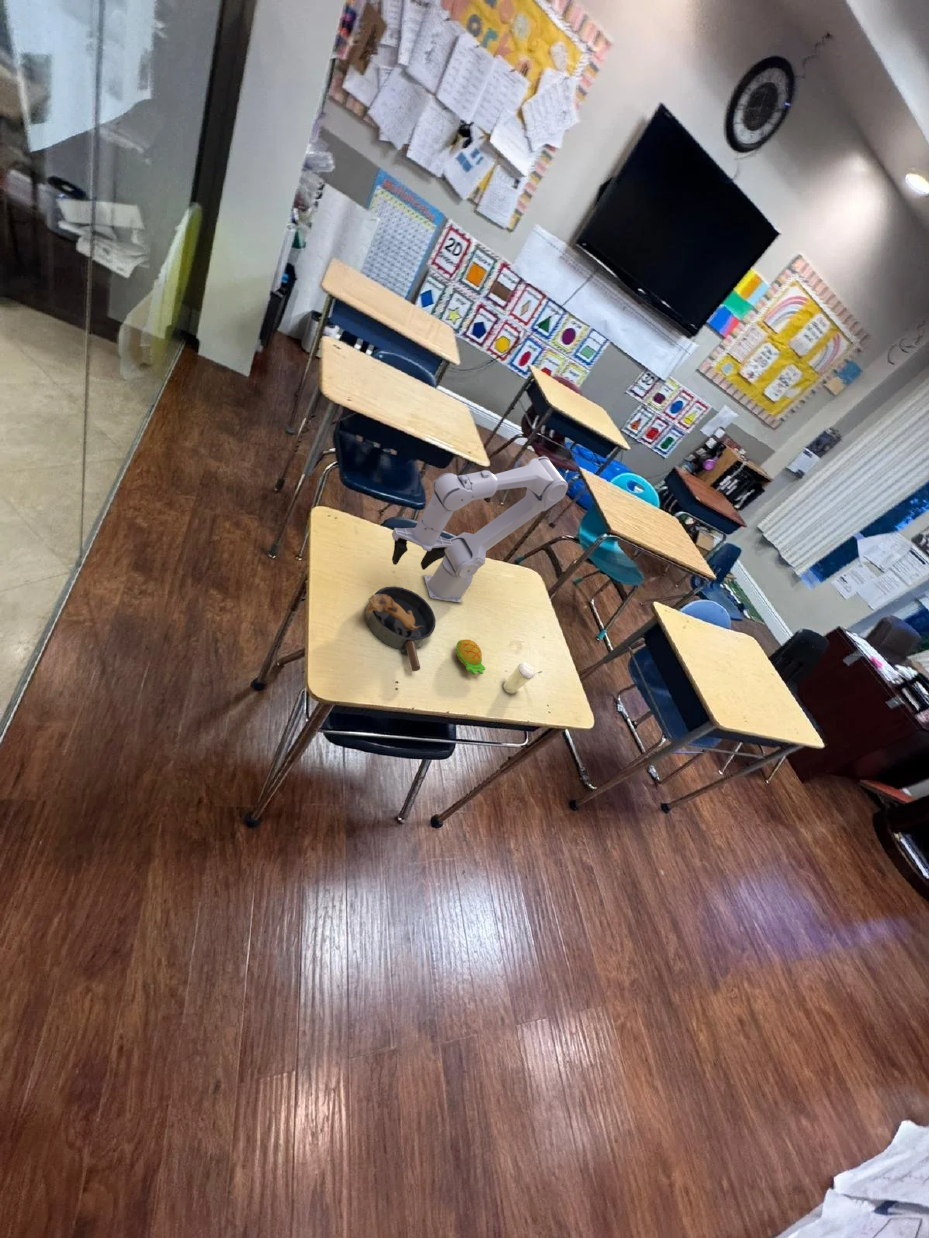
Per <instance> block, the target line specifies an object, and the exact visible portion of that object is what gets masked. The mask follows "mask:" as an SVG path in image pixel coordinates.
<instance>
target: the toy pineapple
mask: <svg viewBox="0 0 929 1238" xmlns="http://www.w3.org/2000/svg"><path fill="white" fill-rule="evenodd" d="M455 649H456V650H455V651H456V652H455V653H456V657H457V659H458V660H459V661H460V662H461V664H463V665H464V666H465V670H466V671H468V672H471V674H472V675H476V674H477V673H478V674H479V675H483V674H484V671H485V670H486V666H484V665H483V663H482V662H483V654H482V649H481V647H480V646H479V645H478V643H476V642H475V641H474V640H472V639H467V638H465V639H460V640H458V641H457V643H456V646H455Z"/></svg>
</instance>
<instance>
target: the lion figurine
mask: <svg viewBox="0 0 929 1238" xmlns="http://www.w3.org/2000/svg"><path fill="white" fill-rule="evenodd" d="M368 601H369V603H370V604H369V603H368V605H369V606H368V605H367V606H366V610H367V612H372V611H373V610H374V611H375V610H377V611H379V612H380V611H381V612H385V613H389V614H390V615H391V616H392V617H394V618H396V619H397V620H400V621H401V622H402V625H403V626H404V628H405V629H408V630H410V631H411V632H413V631H414V629H418V628H424V626H422V625H419V626H417V627H415V626H414V624H415V618H414V617H413V614H412V611H411V610H408V611H407V613H406V612H405V611H404V610H403V609H402V607H401V606H400V605H398V604H397V603H395V602H394V600H393V599H392V598H391V597H390V596H388V595H386V594H376V595H374V594H372V595H371V596H370V597H369V598H368Z"/></svg>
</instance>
